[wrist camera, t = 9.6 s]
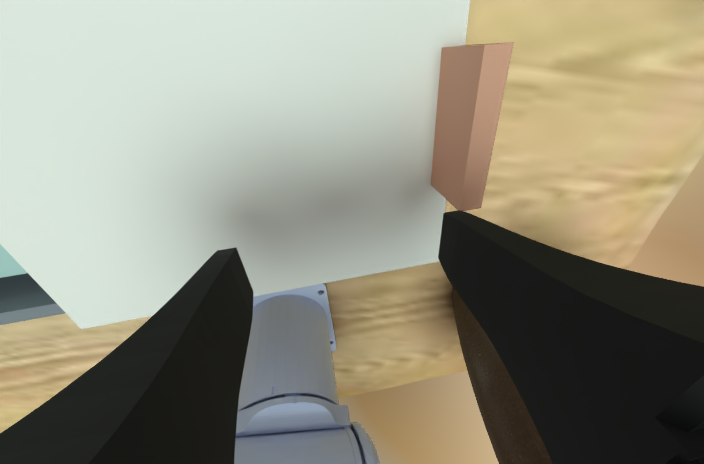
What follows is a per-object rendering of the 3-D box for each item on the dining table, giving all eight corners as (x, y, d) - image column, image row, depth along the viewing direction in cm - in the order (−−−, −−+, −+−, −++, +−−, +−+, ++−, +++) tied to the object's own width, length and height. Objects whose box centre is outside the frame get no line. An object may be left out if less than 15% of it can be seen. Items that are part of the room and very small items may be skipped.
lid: (433, 254, 18) (463, 295, 15) (89, 317, 16) (40, 382, 13) (475, -153, 9) (574, -263, 6) (-322, -144, 7) (-858, -317, 4)
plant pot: (418, 239, 24) (582, 475, 10) (575, 208, 25) (895, 380, 12) (414, 346, 32) (503, 553, 19) (533, 317, 33) (694, 491, 20)
